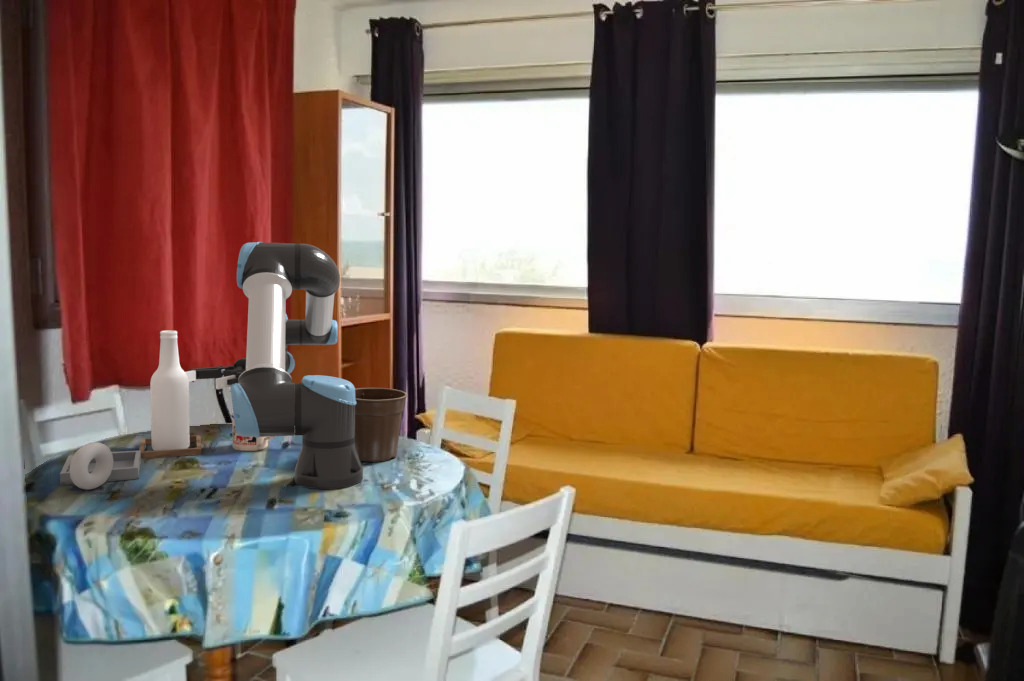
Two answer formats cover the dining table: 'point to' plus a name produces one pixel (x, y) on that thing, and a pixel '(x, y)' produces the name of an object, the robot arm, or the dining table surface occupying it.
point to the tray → (123, 467)
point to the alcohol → (169, 398)
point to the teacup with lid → (248, 441)
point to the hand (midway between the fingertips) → (196, 381)
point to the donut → (82, 461)
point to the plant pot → (378, 422)
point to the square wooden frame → (170, 452)
